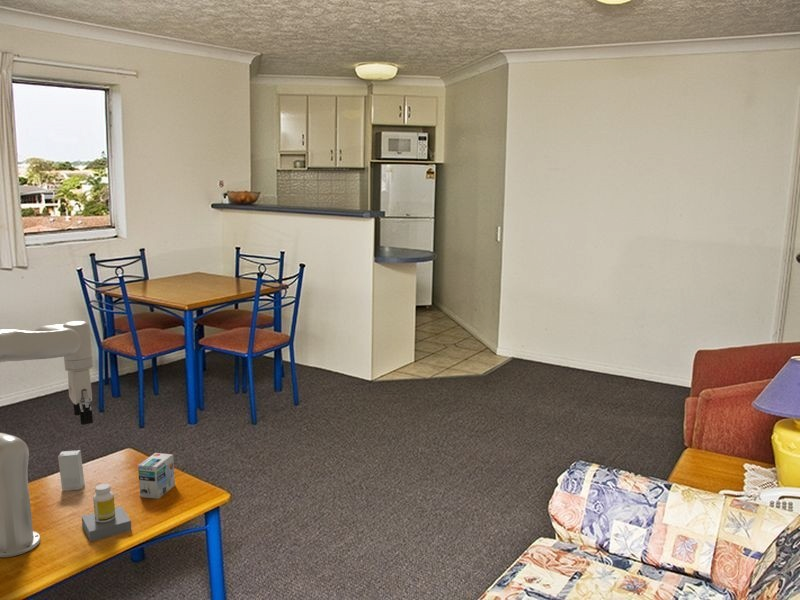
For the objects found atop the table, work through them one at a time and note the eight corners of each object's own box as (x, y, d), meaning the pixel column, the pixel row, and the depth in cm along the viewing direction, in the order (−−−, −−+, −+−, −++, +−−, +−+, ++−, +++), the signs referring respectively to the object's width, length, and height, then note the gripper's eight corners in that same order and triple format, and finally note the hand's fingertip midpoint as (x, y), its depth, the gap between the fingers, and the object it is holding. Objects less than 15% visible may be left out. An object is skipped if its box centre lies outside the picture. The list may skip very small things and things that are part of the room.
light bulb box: (158, 499, 221) (156, 467, 219) (139, 497, 223) (136, 465, 221) (176, 484, 232) (174, 453, 230) (157, 483, 233) (155, 452, 231)
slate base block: (90, 541, 196) (89, 531, 195) (82, 525, 205) (81, 516, 204) (131, 530, 202) (130, 520, 202) (122, 515, 211) (121, 505, 210)
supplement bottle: (119, 517, 204) (116, 485, 202) (103, 525, 199) (100, 492, 197) (107, 512, 206) (104, 481, 205) (91, 520, 202) (87, 488, 200)
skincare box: (85, 484, 232) (82, 449, 230) (81, 490, 228) (78, 454, 226) (65, 485, 231) (61, 450, 229) (60, 491, 227) (57, 455, 225)
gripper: (59, 359, 213) (64, 413, 216) (70, 372, 199) (75, 430, 202) (86, 355, 217) (90, 408, 220) (98, 367, 203) (103, 424, 206)
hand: (83, 419), depth 211 cm, fingers open, 9 cm apart
